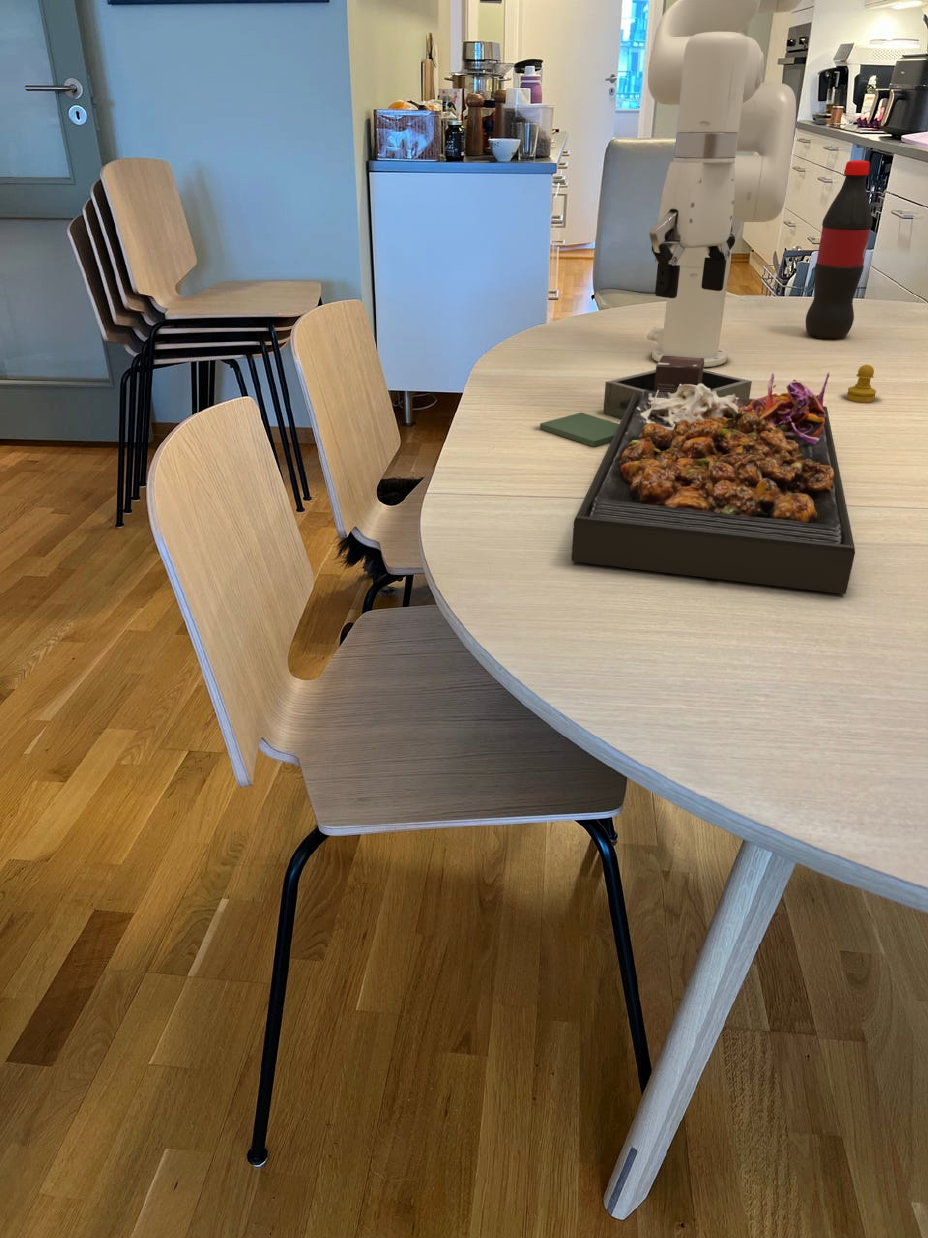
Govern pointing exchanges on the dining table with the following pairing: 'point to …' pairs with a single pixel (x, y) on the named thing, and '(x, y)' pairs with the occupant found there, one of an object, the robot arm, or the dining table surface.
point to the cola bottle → (841, 256)
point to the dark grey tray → (624, 388)
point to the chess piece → (862, 386)
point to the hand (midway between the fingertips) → (689, 293)
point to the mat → (582, 428)
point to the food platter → (721, 491)
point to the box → (677, 373)
